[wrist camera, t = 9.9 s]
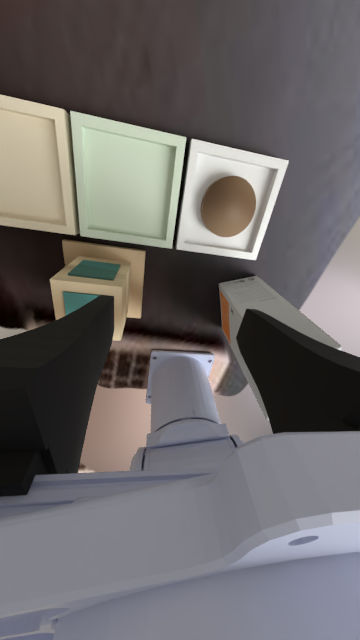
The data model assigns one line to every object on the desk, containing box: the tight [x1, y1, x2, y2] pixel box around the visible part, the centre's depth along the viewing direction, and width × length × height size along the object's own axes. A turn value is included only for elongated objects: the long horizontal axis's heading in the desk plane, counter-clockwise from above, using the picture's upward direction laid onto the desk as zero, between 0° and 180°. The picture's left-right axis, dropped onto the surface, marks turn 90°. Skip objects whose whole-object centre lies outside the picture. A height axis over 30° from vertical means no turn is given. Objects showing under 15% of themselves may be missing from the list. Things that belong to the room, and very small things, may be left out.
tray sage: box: [70, 111, 186, 249], centre depth 16 cm, size 8×8×1 cm
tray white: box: [175, 139, 289, 260], centre depth 18 cm, size 8×8×1 cm
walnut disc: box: [201, 176, 256, 237], centre depth 17 cm, size 4×4×1 cm
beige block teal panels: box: [50, 256, 131, 341], centre depth 17 cm, size 5×4×6 cm
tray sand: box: [0, 95, 80, 235], centre depth 15 cm, size 8×8×1 cm
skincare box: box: [219, 276, 342, 420], centre depth 18 cm, size 6×4×12 cm
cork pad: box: [62, 239, 146, 318], centre depth 20 cm, size 7×7×1 cm
